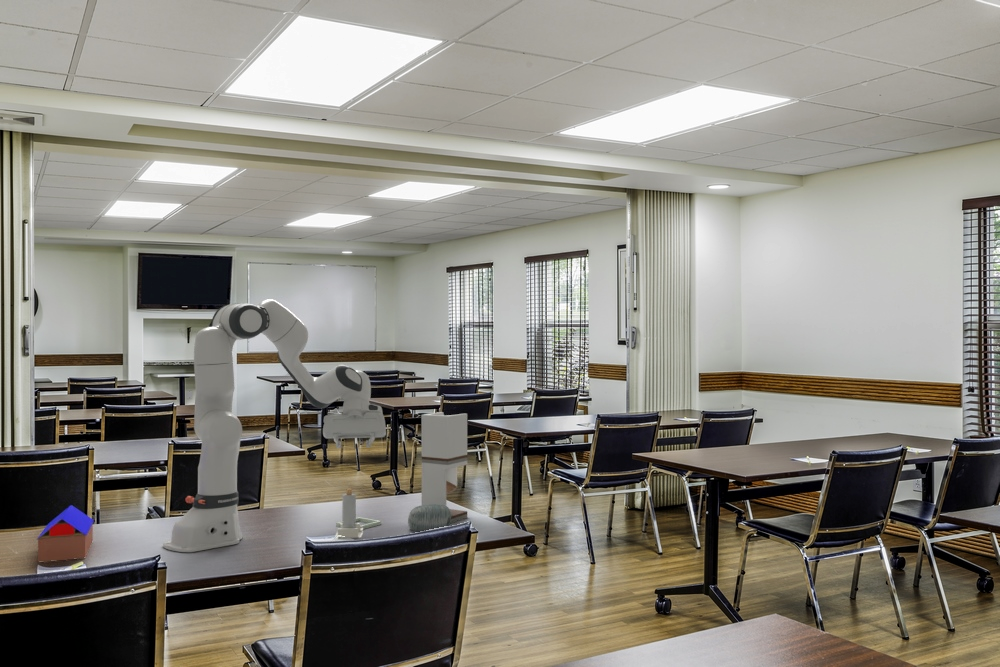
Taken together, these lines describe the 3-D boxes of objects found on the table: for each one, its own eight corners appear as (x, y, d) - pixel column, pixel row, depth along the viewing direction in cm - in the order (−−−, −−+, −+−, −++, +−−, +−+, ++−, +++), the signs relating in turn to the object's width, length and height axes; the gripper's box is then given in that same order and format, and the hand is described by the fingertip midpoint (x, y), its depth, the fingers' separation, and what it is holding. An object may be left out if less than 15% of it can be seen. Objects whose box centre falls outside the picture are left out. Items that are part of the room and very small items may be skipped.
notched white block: (447, 524, 261) (447, 416, 261) (421, 520, 267) (421, 414, 267) (467, 517, 271) (467, 413, 271) (441, 513, 276) (441, 412, 277)
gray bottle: (348, 536, 241) (348, 491, 241) (339, 534, 243) (339, 489, 244) (358, 534, 244) (358, 489, 244) (349, 532, 247) (349, 487, 247)
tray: (358, 532, 249) (358, 526, 249) (336, 528, 255) (336, 522, 255) (381, 526, 257) (381, 521, 257) (358, 522, 263) (358, 517, 263)
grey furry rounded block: (447, 514, 260) (444, 491, 255) (456, 533, 252) (452, 509, 247) (407, 527, 256) (402, 503, 251) (414, 547, 249) (410, 523, 244)
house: (93, 542, 239) (93, 503, 239) (86, 559, 220) (86, 517, 220) (48, 546, 234) (48, 506, 234) (36, 564, 216) (36, 520, 216)
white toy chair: (334, 540, 240) (334, 529, 240) (338, 531, 251) (338, 520, 251) (361, 540, 240) (361, 528, 240) (364, 531, 252) (364, 520, 252)
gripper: (323, 407, 263) (319, 441, 254) (386, 406, 265) (384, 439, 255) (325, 419, 268) (321, 453, 258) (387, 418, 269) (385, 451, 260)
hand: (353, 446), depth 257 cm, fingers open, 8 cm apart
